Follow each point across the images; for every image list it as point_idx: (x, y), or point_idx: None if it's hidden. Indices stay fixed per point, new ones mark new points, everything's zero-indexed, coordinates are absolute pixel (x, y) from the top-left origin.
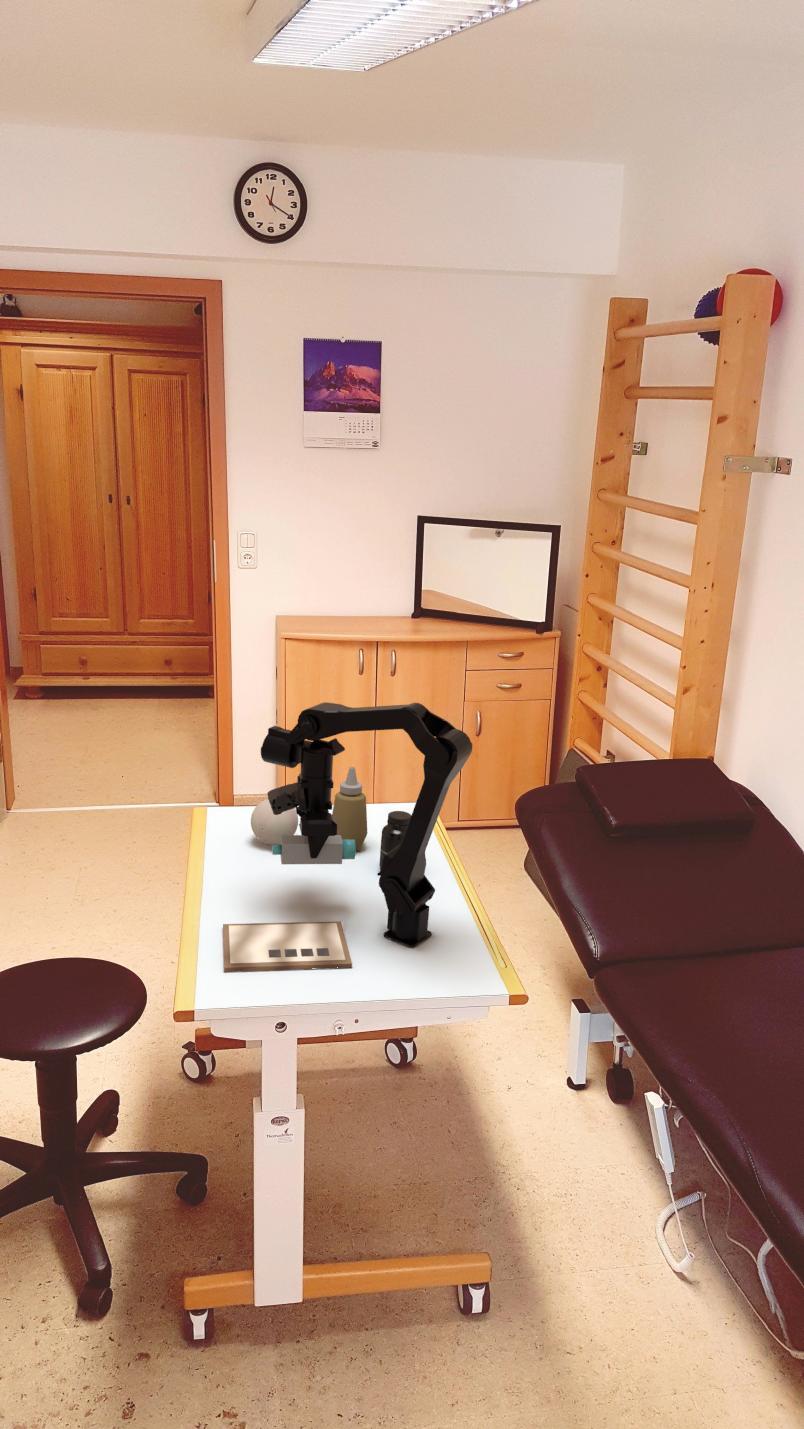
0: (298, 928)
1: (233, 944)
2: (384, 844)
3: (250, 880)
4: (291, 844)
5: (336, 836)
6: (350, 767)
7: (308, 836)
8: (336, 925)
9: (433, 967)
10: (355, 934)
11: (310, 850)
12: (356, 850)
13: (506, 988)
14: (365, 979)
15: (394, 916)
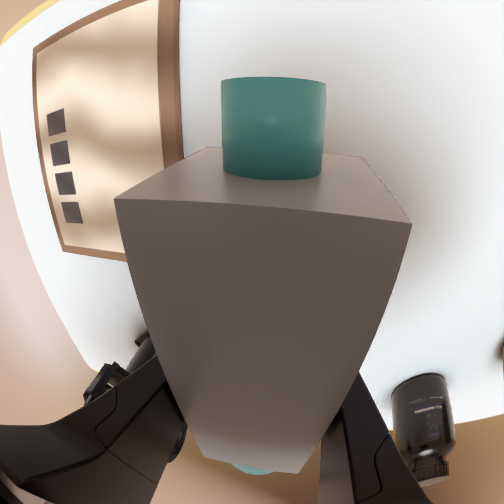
0: (143, 169)
1: (82, 34)
2: (424, 424)
3: (482, 86)
4: (135, 285)
5: (284, 467)
6: None
7: (61, 421)
8: None
9: (102, 338)
10: None
11: (155, 358)
12: (502, 350)
13: (93, 369)
14: (53, 257)
15: (141, 359)
